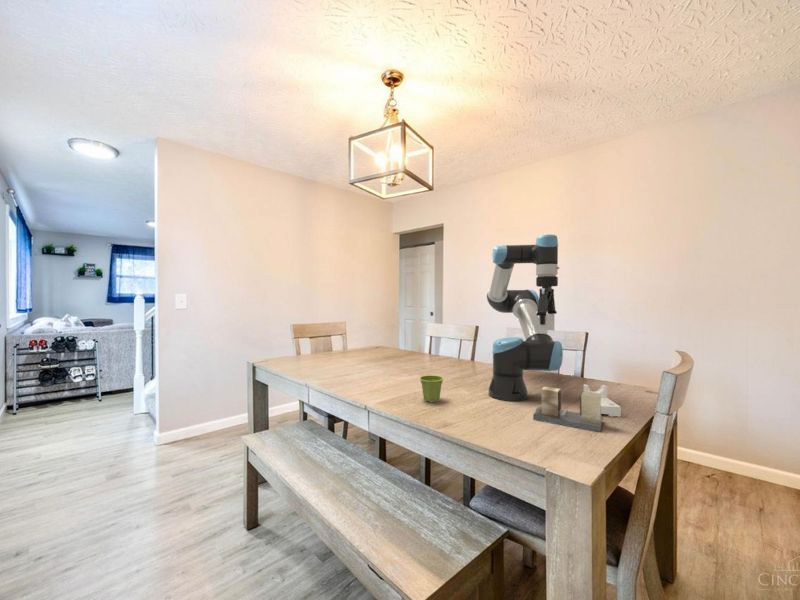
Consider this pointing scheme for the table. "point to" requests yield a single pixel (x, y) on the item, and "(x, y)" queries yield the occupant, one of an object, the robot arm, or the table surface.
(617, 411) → the bracket
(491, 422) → the table surface
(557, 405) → the wooden block
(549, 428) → the table surface
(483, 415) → the table surface
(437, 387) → the plant pot
